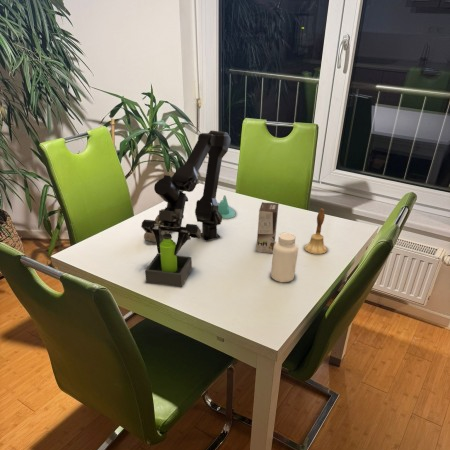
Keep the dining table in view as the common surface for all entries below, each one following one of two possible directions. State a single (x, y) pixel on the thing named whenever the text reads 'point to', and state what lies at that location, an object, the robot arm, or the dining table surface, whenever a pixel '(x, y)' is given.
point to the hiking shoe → (151, 236)
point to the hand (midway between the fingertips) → (166, 254)
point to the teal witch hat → (225, 209)
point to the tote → (168, 278)
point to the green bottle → (168, 254)
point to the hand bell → (317, 237)
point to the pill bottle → (284, 258)
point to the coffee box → (267, 227)
